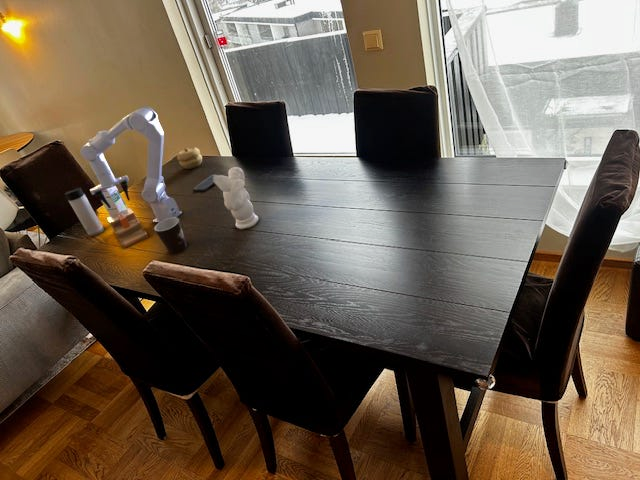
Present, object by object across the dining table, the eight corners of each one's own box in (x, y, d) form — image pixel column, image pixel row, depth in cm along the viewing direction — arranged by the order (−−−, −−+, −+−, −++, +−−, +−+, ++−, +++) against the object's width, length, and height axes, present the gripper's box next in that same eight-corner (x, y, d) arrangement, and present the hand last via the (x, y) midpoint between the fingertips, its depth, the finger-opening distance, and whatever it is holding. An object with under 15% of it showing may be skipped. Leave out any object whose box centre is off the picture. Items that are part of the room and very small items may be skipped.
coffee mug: (177, 257, 153) (165, 232, 147) (161, 253, 157) (149, 229, 152) (200, 238, 160) (190, 214, 155) (184, 235, 165) (174, 212, 160)
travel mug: (89, 238, 182) (63, 195, 172) (88, 232, 188) (63, 190, 177) (104, 232, 184) (80, 189, 174) (103, 226, 189) (79, 184, 179)
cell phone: (224, 176, 206) (224, 174, 206) (205, 190, 197) (204, 189, 196) (213, 175, 210) (212, 174, 209) (193, 190, 200) (192, 188, 200)
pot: (178, 173, 225) (170, 154, 220) (187, 163, 234) (180, 145, 229) (199, 169, 222) (191, 151, 217) (207, 160, 231) (200, 141, 226)
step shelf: (148, 237, 171) (141, 222, 168) (124, 248, 167) (116, 234, 164) (137, 221, 186) (130, 207, 183) (114, 231, 182) (106, 217, 179)
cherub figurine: (252, 213, 168) (233, 159, 156) (272, 220, 159) (253, 163, 148) (226, 229, 162) (204, 174, 150) (245, 237, 153) (224, 179, 142)
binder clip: (130, 226, 173) (125, 215, 171) (124, 229, 172) (119, 218, 170) (128, 222, 177) (122, 212, 174) (122, 225, 176) (116, 215, 173)
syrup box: (122, 218, 192) (106, 188, 184) (111, 220, 193) (95, 190, 186) (130, 212, 196) (114, 182, 189) (118, 213, 198) (103, 183, 190)
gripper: (84, 182, 167) (101, 213, 174) (123, 168, 172) (138, 199, 179) (83, 177, 173) (100, 208, 180) (121, 163, 177) (136, 194, 184)
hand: (119, 203), depth 180 cm, fingers open, 7 cm apart
